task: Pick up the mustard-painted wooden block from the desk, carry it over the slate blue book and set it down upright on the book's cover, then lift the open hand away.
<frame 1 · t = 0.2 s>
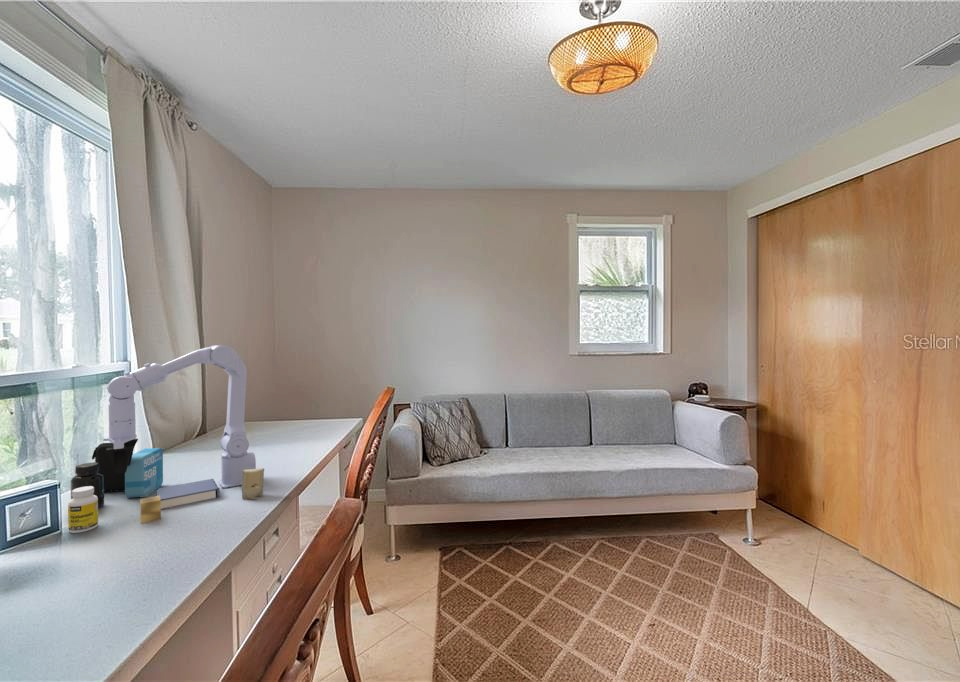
hand: (123, 469, 122), 10 cm above the table, tool pointing down, fingers open, 7 cm apart
tan upright rounded block: (253, 497, 128), on the table
supplement bottle 2: (83, 529, 107), on the table
data package: (144, 492, 132), on the table
mustard block: (150, 518, 113), on the table
supplement bottle: (88, 509, 120), on the table
carrying case or bag: (113, 491, 133), on the table
slate blue book: (188, 498, 127), on the table
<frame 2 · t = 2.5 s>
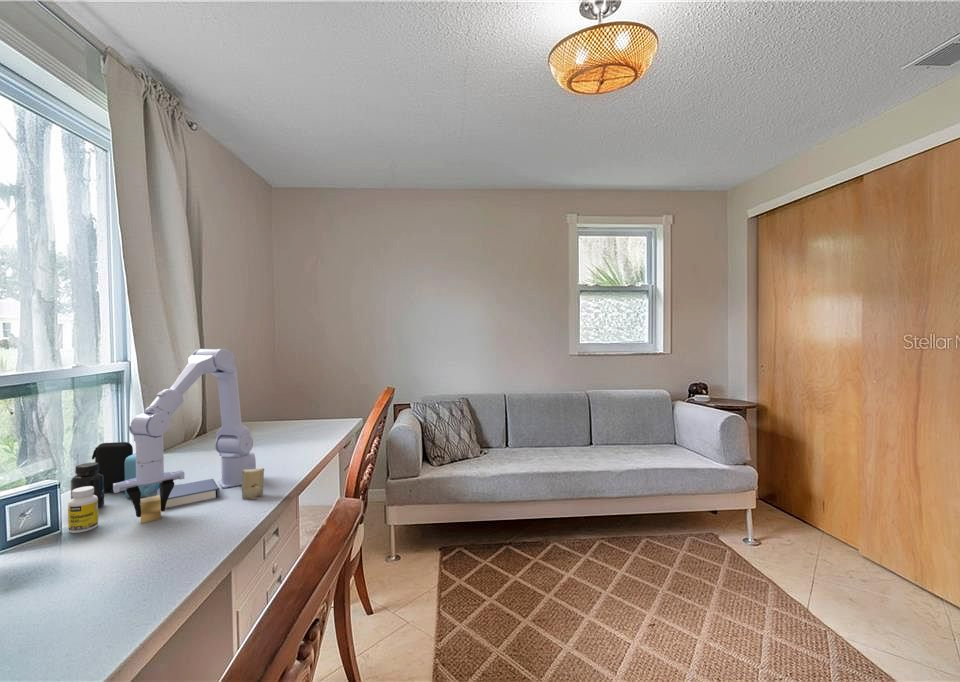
hand: (150, 513, 113), 1 cm above the table, tool pointing down, fingers closed on mustard block, 4 cm apart
mustard block: (150, 518, 113), on the table, touching gripper
everything else where it was.
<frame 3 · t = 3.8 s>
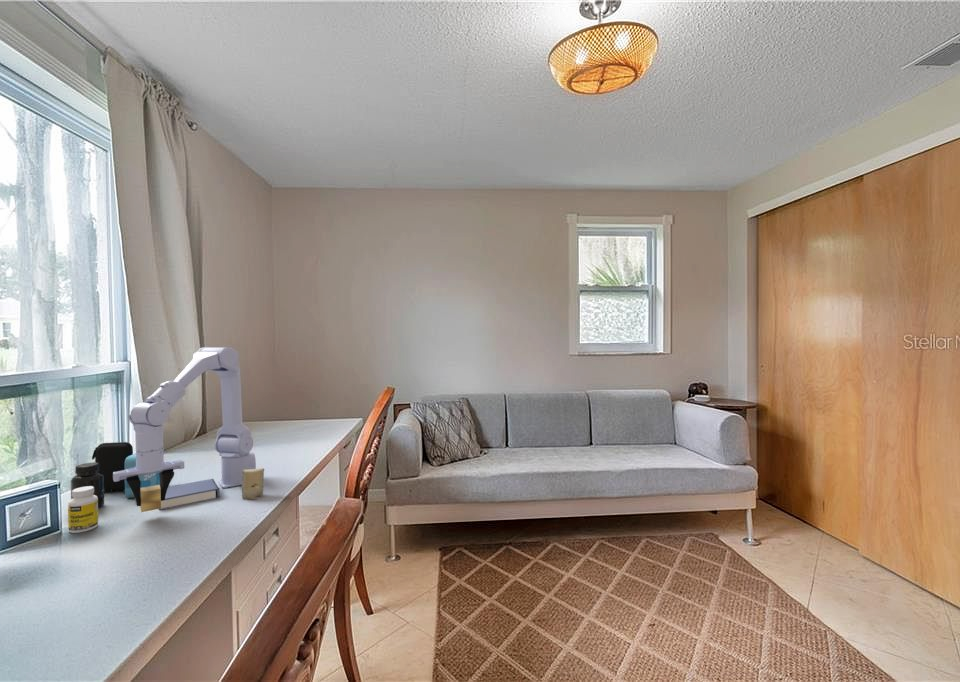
hand: (150, 502, 113), 4 cm above the table, tool pointing down, fingers closed on mustard block, 4 cm apart
mustard block: (150, 507, 113), point 3 cm above the table, touching gripper
everything else where it was.
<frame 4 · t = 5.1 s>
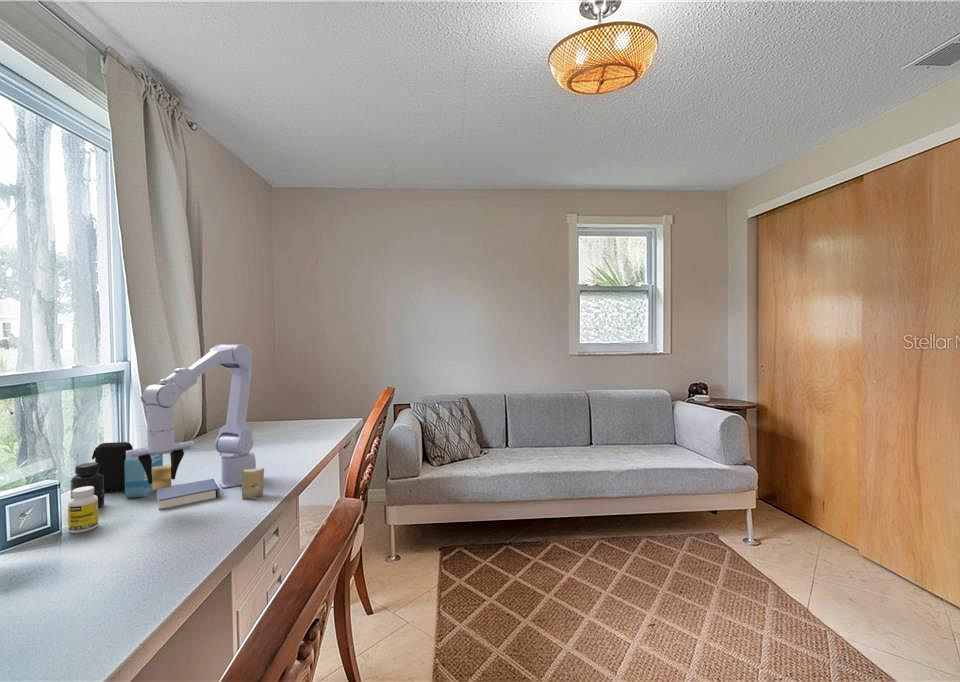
hand: (161, 480, 117), 8 cm above the table, tool pointing down, fingers closed on mustard block, 4 cm apart
mustard block: (161, 486, 117), point 7 cm above the table, touching gripper
everything else where it was.
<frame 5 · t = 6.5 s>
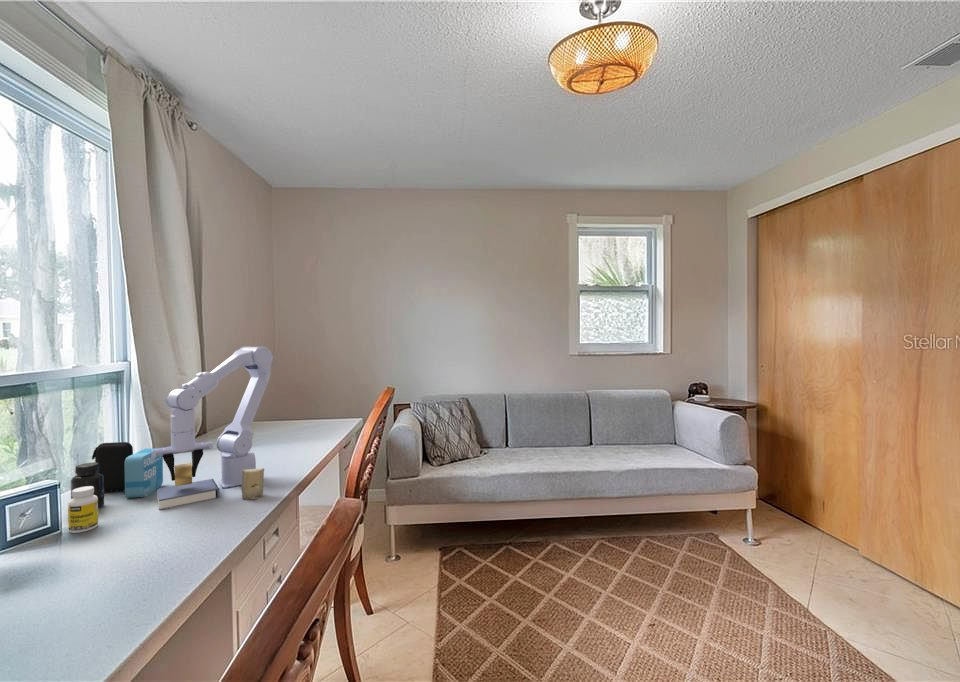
hand: (183, 478, 127), 6 cm above the table, tool pointing down, fingers closed on mustard block, 4 cm apart
mustard block: (183, 483, 127), point 5 cm above the table, touching gripper
everything else where it was.
when the fingers open (5 cm above the table, at t = 7.8 s): mustard block drops 1 cm, resting on slate blue book.
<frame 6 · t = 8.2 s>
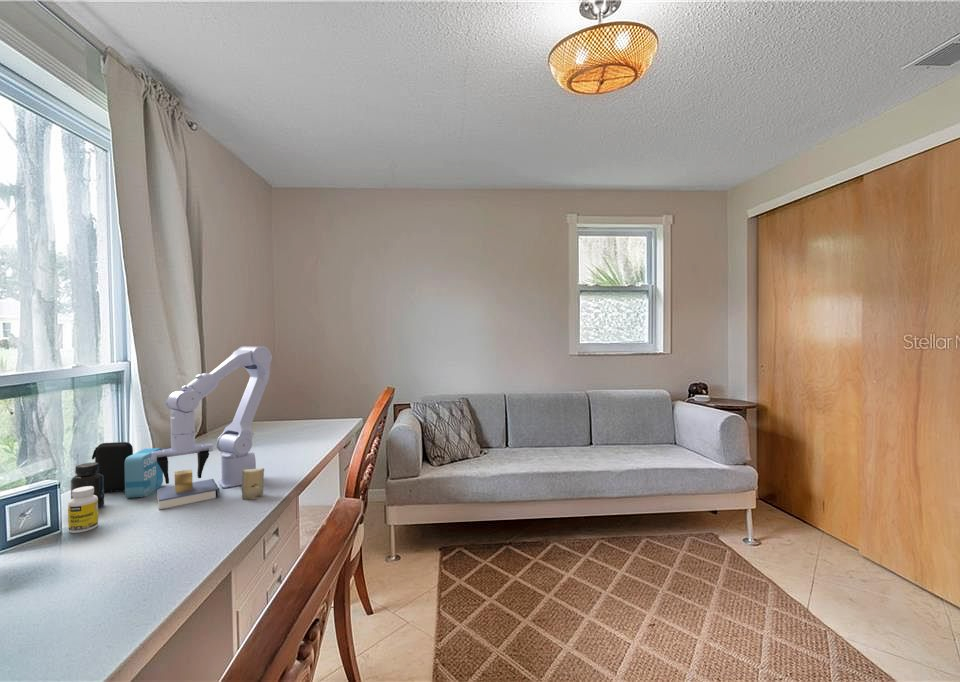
hand: (183, 480, 127), 5 cm above the table, tool pointing down, fingers open, 7 cm apart
mustard block: (183, 489, 127), point 3 cm above the table, touching slate blue book
slate blue book: (188, 499, 127), on the table, touching mustard block
everything else where it was.
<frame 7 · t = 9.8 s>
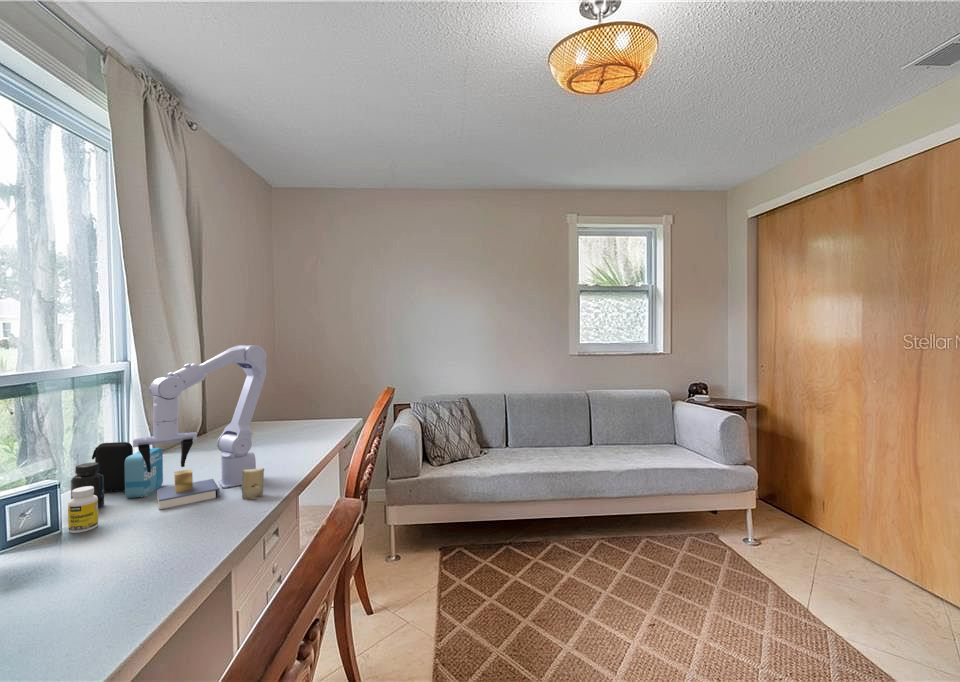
hand: (166, 468, 124), 10 cm above the table, tool pointing down, fingers open, 7 cm apart
nothing on the table moved.
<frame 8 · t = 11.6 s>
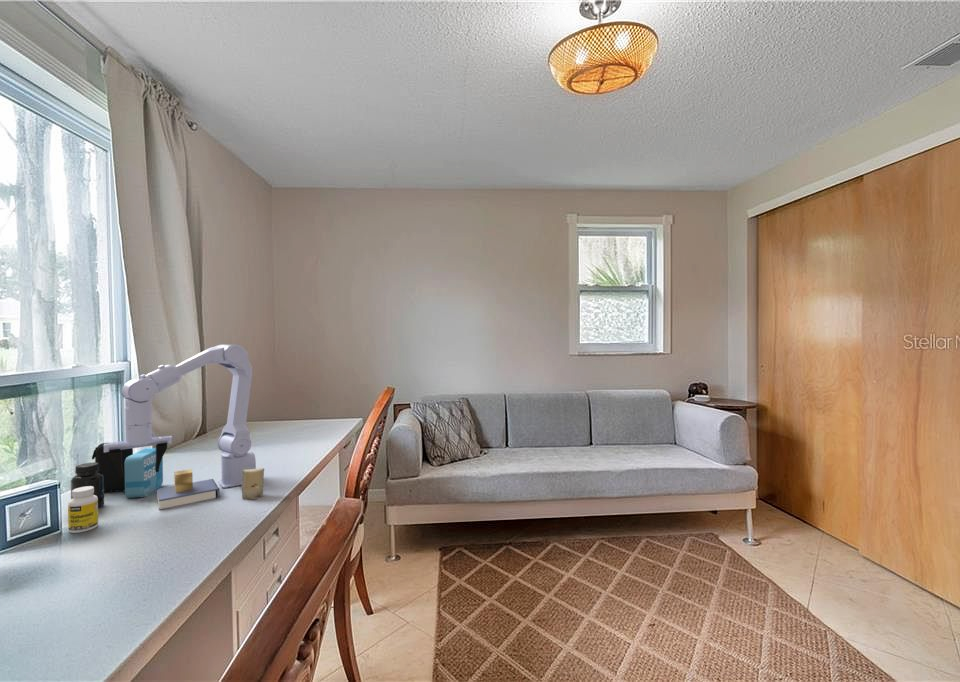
hand: (139, 474, 120), 9 cm above the table, tool pointing down, fingers open, 7 cm apart
nothing on the table moved.
at the end: mustard block inside the target area on the slate blue book (1.0 cm from its centre), point 3.0 cm above the slate blue book's base; mustard block tilted 0°; the gripper is holding nothing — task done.
